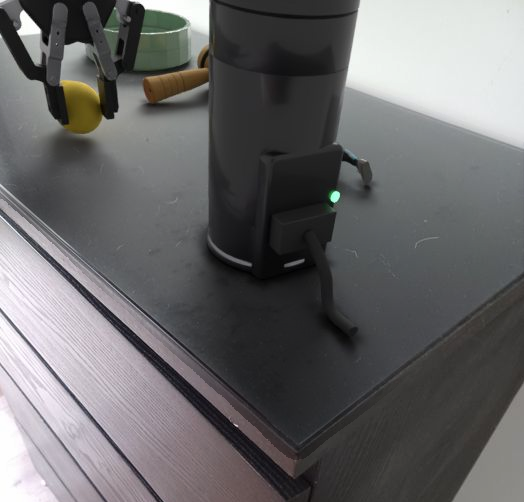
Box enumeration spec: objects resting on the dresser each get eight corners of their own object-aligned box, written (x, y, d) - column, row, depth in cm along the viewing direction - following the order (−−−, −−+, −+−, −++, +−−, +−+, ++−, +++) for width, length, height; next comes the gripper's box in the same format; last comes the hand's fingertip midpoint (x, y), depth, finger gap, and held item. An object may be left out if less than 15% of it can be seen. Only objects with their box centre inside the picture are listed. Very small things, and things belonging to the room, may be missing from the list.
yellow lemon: (111, 107, 53) (88, 52, 55) (61, 113, 51) (37, 55, 53) (107, 151, 59) (86, 100, 61) (62, 158, 57) (41, 105, 59)
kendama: (168, 126, 64) (288, 87, 70) (154, 69, 60) (283, 33, 67) (144, 116, 70) (257, 81, 76) (129, 63, 66) (250, 30, 72)
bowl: (207, 69, 78) (208, 30, 74) (106, 78, 72) (101, 36, 68) (167, 41, 87) (165, 6, 84) (74, 47, 81) (68, 9, 77)
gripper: (-37, -102, 37) (22, 143, 48) (154, -93, 43) (166, 123, 54) (-54, -111, 41) (4, 115, 53) (122, -102, 47) (139, 100, 59)
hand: (86, 118), depth 54 cm, fingers closed on yellow lemon, 4 cm apart
